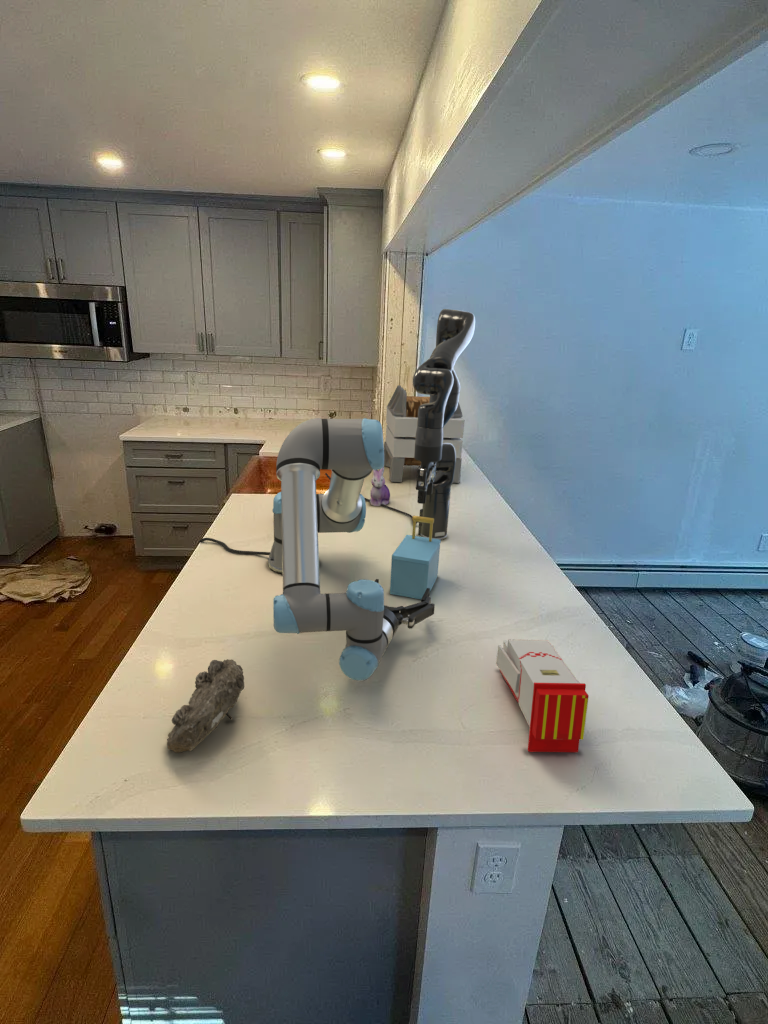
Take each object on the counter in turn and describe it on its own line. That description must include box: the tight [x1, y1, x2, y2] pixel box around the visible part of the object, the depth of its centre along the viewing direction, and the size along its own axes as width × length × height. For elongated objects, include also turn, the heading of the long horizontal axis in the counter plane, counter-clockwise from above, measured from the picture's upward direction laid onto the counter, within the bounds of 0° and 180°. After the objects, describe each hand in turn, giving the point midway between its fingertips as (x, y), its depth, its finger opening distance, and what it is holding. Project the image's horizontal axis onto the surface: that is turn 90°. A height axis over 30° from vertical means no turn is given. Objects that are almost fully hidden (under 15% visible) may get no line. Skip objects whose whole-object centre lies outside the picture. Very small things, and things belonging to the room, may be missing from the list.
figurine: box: [369, 466, 391, 507], centre depth 228 cm, size 9×10×15 cm
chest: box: [389, 544, 441, 600], centre depth 162 cm, size 16×10×11 cm
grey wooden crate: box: [383, 384, 465, 484], centre depth 268 cm, size 34×33×41 cm
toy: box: [495, 638, 589, 753], centre depth 114 cm, size 12×13×30 cm
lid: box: [391, 515, 442, 565], centre depth 159 cm, size 16×10×8 cm, turn 163°
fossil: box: [166, 658, 245, 754], centre depth 106 cm, size 22×10×15 cm
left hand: (402, 588), depth 146 cm, fingers open, 13 cm apart
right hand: (424, 498), depth 160 cm, fingers open, 8 cm apart
